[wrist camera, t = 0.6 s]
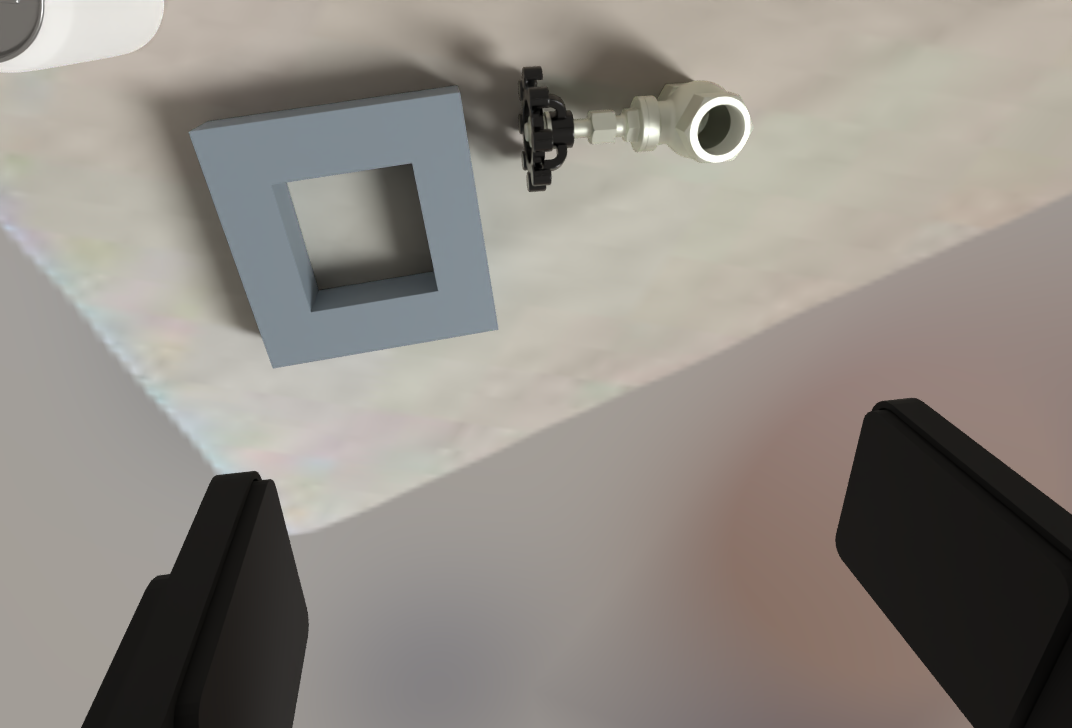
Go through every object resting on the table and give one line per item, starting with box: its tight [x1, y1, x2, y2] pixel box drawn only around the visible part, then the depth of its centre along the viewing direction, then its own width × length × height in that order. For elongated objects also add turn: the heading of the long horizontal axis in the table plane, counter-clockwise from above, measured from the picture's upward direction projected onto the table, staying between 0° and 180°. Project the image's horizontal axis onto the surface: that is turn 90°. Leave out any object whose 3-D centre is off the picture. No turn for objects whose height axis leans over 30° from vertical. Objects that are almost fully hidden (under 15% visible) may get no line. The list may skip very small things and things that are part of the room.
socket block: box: [189, 85, 498, 368], centre depth 40 cm, size 14×14×4 cm
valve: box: [518, 66, 753, 192], centre depth 38 cm, size 7×7×12 cm
